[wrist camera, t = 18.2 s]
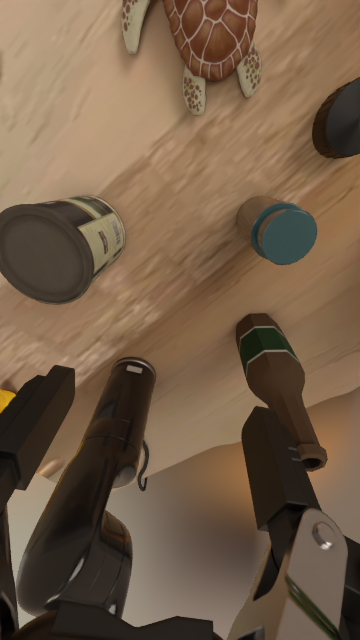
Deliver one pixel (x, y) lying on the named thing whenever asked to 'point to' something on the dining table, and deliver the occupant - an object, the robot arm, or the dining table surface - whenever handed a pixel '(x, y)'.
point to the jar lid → (339, 123)
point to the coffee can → (58, 246)
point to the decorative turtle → (204, 42)
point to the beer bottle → (278, 382)
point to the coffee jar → (276, 229)
